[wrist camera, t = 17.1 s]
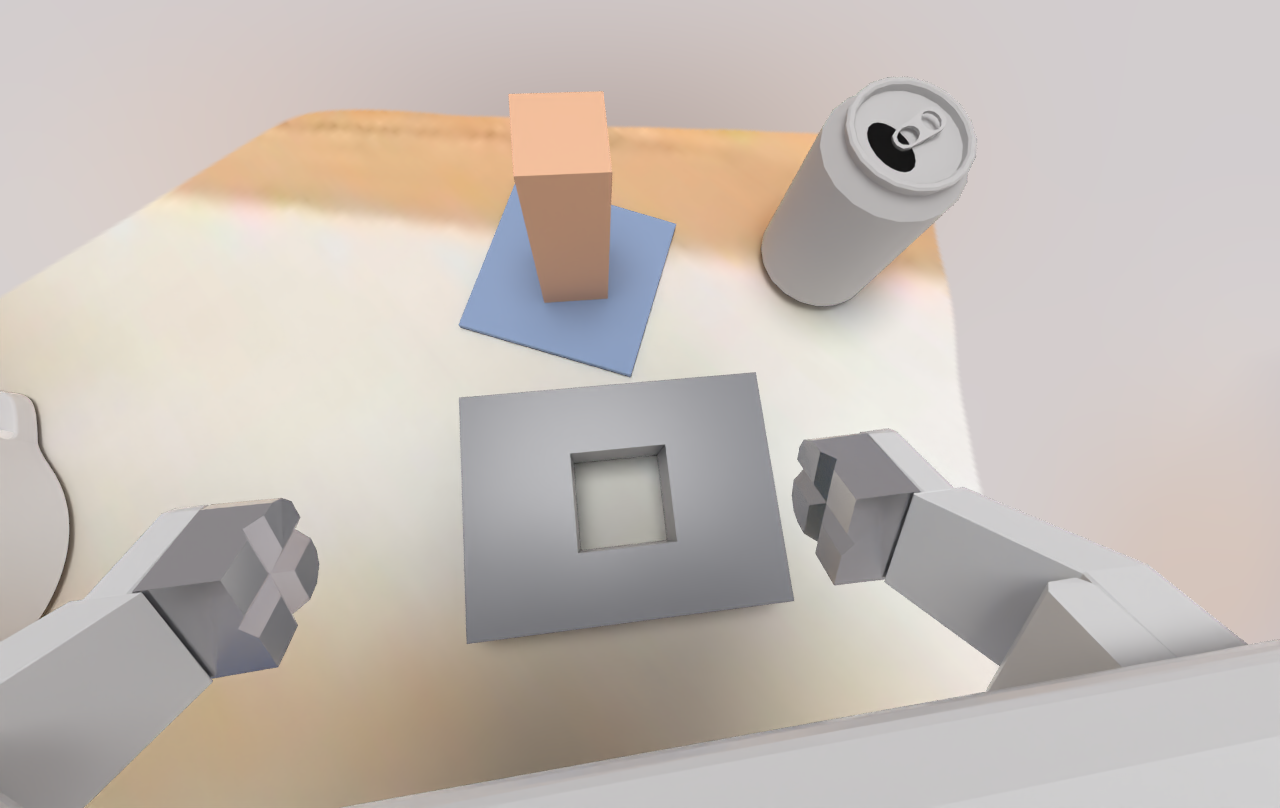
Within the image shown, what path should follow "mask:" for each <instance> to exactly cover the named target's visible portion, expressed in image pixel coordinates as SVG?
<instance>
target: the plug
mask: <svg viewBox="0 0 1280 808" xmlns="http://www.w3.org/2000/svg"><path fill="white" fill-rule="evenodd" d="M509 109H510V127H511V143H512V160H513V176H514V180H515V185H516V189H517V193H518V197H519V201H520V205H521V209H522V213H523V217H524V222H525V226H526V230H527V234H528V238H529V242H530V246H531V250H532V254H533V259H534V263H535V267H536V271H537V275H538V279H539V283H540V287H541V291H542V296H543V300H544V303H550V302H565V301H580V300H594V299H608V279H609V250H610V222H611V193H612V166H611V157H610V148H609V139H608V130H607V121H606V111H605V103H604V94H603V92H602V91H601V92H569V93H568V92H567V93H566V92H565V93H533V94H532V93H530V94H509Z"/></svg>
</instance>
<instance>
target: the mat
mask: <svg viewBox="0 0 1280 808" xmlns="http://www.w3.org/2000/svg"><path fill="white" fill-rule="evenodd" d="M675 226H676V224H675V223H671V222H668V221H664V220H661V219H657V218H654V217H651V216H647V215H644V214H640V213H637V212H634V211H630V210H627V209H623V208H620V207H617V206H613V205H611V222H610V250H609V279H608V299H594V300H580V301H565V302H550V303H544V300H543V296H542V291H541V287H540V283H539V279H538V275H537V271H536V267H535V263H534V259H533V254H532V250H531V246H530V242H529V238H528V234H527V230H526V226H525V222H524V217H523V213H522V209H521V205H520V201H519V197H518V193H517V189H516V185H514V188H513V190H512V193H511V195H510V198H509V200H508V203H507V205H506V208H505V210H504V213H503V215H502V218H501V220H500V223H499V225H498V228H497V230H496V233H495V235H494V238H493V240H492V243H491V245H490V248H489V250H488V253H487V255H486V258H485V260H484V263H483V265H482V268H481V270H480V273H479V275H478V278H477V280H476V283H475V285H474V288H473V290H472V293H471V295H470V298H469V300H468V303H467V305H466V308H465V310H464V313H463V315H462V318H461V320H460V323H459V326H460V327H461V328H465V329H468V330H472V331H475V332H478V333H482V334H485V335H489V336H492V337H496V338H499V339H502V340H506V341H509V342H513V343H516V344H520V345H523V346H526V347H530V348H533V349H537V350H540V351H544V352H547V353H550V354H554V355H557V356H561V357H564V358H568V359H571V360H574V361H578V362H581V363H585V364H588V365H592V366H595V367H598V368H602V369H605V370H609V371H612V372H615V373H619V374H622V375H626V376H629V377H631V374H632V370H633V367H634V364H635V360H636V357H637V353H638V350H639V347H640V343H641V340H642V337H643V333H644V330H645V327H646V323H647V320H648V317H649V313H650V310H651V307H652V303H653V300H654V297H655V293H656V290H657V287H658V283H659V280H660V277H661V273H662V270H663V267H664V263H665V260H666V256H667V253H668V250H669V246H670V243H671V240H672V236H673V233H674V230H675Z"/></svg>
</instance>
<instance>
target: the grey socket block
mask: <svg viewBox="0 0 1280 808" xmlns="http://www.w3.org/2000/svg"><path fill="white" fill-rule="evenodd" d="M459 411H460V443H461V475H462V507H463V539H464V572H465V604H466V636H467V644H470V643H478V642H485V641H493V640H501V639H508V638H516V637H523V636H531V635H539V634H546V633H554V632H562V631H569V630H577V629H584V628H592V627H600V626H607V625H615V624H622V623H630V622H638V621H645V620H653V619H660V618H668V617H676V616H683V615H691V614H698V613H706V612H714V611H721V610H729V609H736V608H744V607H752V606H759V605H767V604H774V603H782V602H790V601H794V597H793V591H792V586H791V580H790V574H789V568H788V562H787V556H786V550H785V544H784V538H783V532H782V526H781V520H780V514H779V508H778V502H777V496H776V490H775V484H774V478H773V473H772V467H771V461H770V455H769V449H768V443H767V437H766V431H765V425H764V419H763V413H762V407H761V401H760V395H759V389H758V383H757V377H756V372H754V373H742V374H730V375H719V376H707V377H695V378H684V379H672V380H660V381H648V382H637V383H625V384H613V385H602V386H590V387H578V388H567V389H555V390H543V391H532V392H520V393H508V394H496V395H485V396H473V397H461V398H459ZM652 455H657V458H658V467H659V475H660V484H661V492H662V501H663V509H664V518H665V526H666V534H667V540H665V541H657V542H648V543H640V544H631V545H622V546H614V547H605V548H597V549H588V550H581V546H580V534H579V522H578V509H577V497H576V485H575V472H574V463H582V462H592V461H602V460H612V459H622V458H632V457H642V456H652Z"/></svg>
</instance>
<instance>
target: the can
mask: <svg viewBox="0 0 1280 808" xmlns="http://www.w3.org/2000/svg"><path fill="white" fill-rule="evenodd" d="M976 146H977V138H976V134H975V131H974V127H973V124H972V121H971V119H970V118H969V116H968V115H967V113H966V111H965V110H964V108H963V107H962V106H961V104H960V103H959V102H958V101H956V100H955V99H954V98H953V97H952V96H951V95H950V94H949V93H948V92H946V91H945V90H943V89H941V88H939V87H937V86H935V85H933V84H932V83H930V82H927V81H923V80H919V79H915V78H911V77H887V78H884V79H881V80H878V81H875V82H872V83H870V84H869V85H867V86H866V87H865V88H863V89H862V90H861V91H860V92H858V93H857V94H856V95H855V96H852V97H849V98H848V99H846V100H845V101H844V102H842V103H841V104H840V105H838V106H837V107H836V108H834V109H833V110H832V112H831V114H830V115H829V117H828V119H827V120H826V122H825V124H824V125H823V127H822V129H821V131H820V132H819V134H818V136H817V138H816V140H815V142H814V143H813V145H812V147H811V149H810V151H809V152H808V154H807V156H806V158H805V160H804V161H803V163H802V165H801V167H800V169H799V171H798V172H797V174H796V176H795V178H794V180H793V181H792V183H791V185H790V187H789V189H788V190H787V192H786V194H785V196H784V198H783V199H782V201H781V203H780V205H779V207H778V209H777V210H776V212H775V214H774V216H773V218H772V219H771V221H770V223H769V225H768V227H767V228H766V230H765V232H764V235H763V241H762V246H761V251H762V257H763V263H764V266H765V268H766V270H767V272H768V274H769V276H770V278H771V280H772V281H773V282H774V283H775V284H776V285H777V286H778V287H779V288H780V289H781V290H782V291H783V292H784V293H785V294H787V295H789V296H790V297H792V298H794V299H796V300H798V301H799V302H802V303H806V304H810V305H815V306H831V305H837V304H840V303H842V302H845V301H847V300H850V299H851V298H852V297H854V296H855V295H856V294H857V293H858V292H859V291H860V290H861V289H863V288H864V287H865V286H866V285H867V284H868V283H869V282H870V281H871V280H872V279H873V278H874V277H876V276H877V275H878V274H879V273H880V272H881V271H882V270H883V269H884V268H885V267H886V266H887V265H889V264H890V263H891V262H892V261H893V260H894V259H895V258H896V257H897V256H898V255H899V254H901V253H902V252H903V251H904V250H905V249H906V248H907V247H908V246H909V245H910V244H911V243H912V242H914V241H915V240H916V239H917V238H918V237H919V236H920V235H921V234H922V233H923V232H924V231H925V230H927V229H928V228H929V227H930V226H931V225H932V224H933V223H934V222H935V221H936V220H937V219H938V218H940V217H941V216H942V214H944V213H945V212H946V211H947V210H948V209H949V208H950V207H951V206H953V205H954V204H955V203H956V202H957V201H958V200H959V198H960V196H961V194H962V192H963V190H964V187H965V186H966V183H967V177H968V172H969V170H970V168H971V165H972V164H973V162H974V160H975V158H976Z"/></svg>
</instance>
